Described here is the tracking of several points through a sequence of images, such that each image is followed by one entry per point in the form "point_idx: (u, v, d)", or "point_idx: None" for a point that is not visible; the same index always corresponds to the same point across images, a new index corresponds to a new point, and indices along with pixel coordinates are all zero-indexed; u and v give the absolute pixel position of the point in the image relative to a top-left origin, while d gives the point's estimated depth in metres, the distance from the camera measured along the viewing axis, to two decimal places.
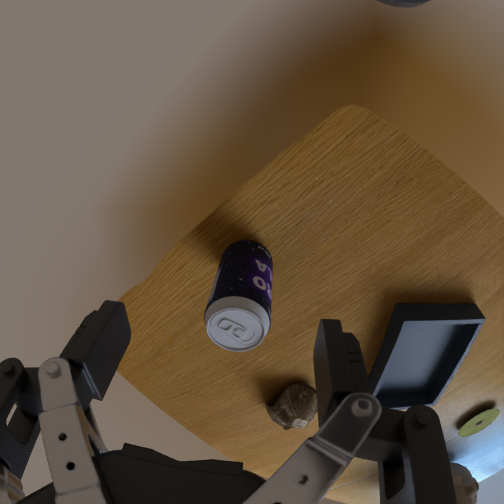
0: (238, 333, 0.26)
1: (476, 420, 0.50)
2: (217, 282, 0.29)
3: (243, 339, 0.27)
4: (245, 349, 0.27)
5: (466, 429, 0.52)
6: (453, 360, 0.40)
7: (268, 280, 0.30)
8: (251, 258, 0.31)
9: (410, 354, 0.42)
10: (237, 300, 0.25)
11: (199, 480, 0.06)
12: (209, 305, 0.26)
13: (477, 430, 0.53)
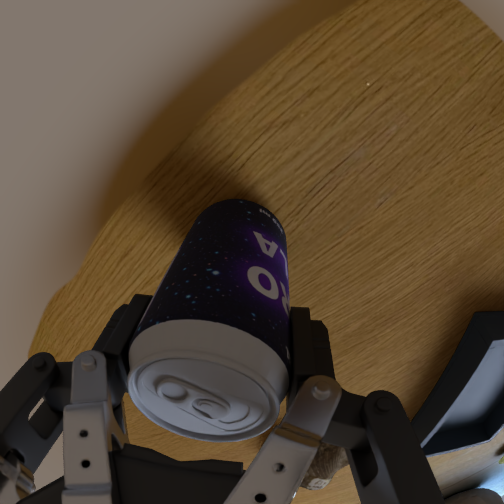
0: (209, 410, 0.09)
1: None
2: (163, 280, 0.12)
3: (223, 420, 0.10)
4: (229, 438, 0.10)
5: None
6: None
7: (282, 276, 0.13)
8: (244, 227, 0.14)
9: (476, 382, 0.25)
10: (201, 333, 0.09)
11: (199, 480, 0.06)
12: (133, 338, 0.10)
13: None
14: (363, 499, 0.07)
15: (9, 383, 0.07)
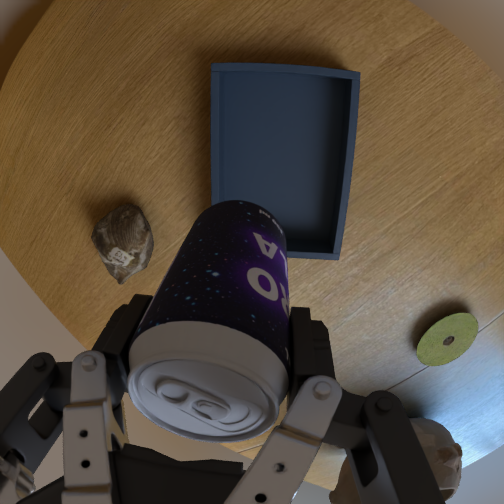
0: (208, 412, 0.09)
1: (441, 333, 0.40)
2: (163, 281, 0.12)
3: (222, 421, 0.10)
4: (229, 439, 0.10)
5: (428, 349, 0.42)
6: (342, 163, 0.30)
7: (282, 277, 0.13)
8: (244, 228, 0.14)
9: (266, 151, 0.32)
10: (201, 335, 0.09)
11: (199, 480, 0.06)
12: (133, 340, 0.10)
13: (449, 357, 0.43)
14: (364, 499, 0.07)
15: (9, 383, 0.07)
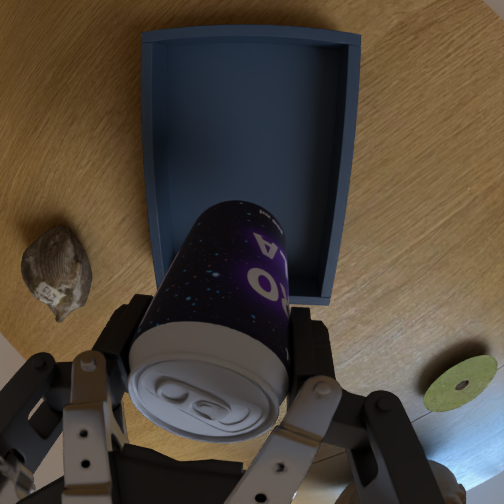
0: (209, 412, 0.09)
1: (455, 378, 0.31)
2: (164, 281, 0.12)
3: (222, 422, 0.10)
4: (229, 439, 0.10)
5: (438, 396, 0.33)
6: (335, 169, 0.21)
7: (282, 277, 0.13)
8: (244, 229, 0.14)
9: (226, 154, 0.22)
10: (201, 335, 0.09)
11: (199, 480, 0.06)
12: (134, 340, 0.10)
13: (460, 401, 0.33)
14: (364, 499, 0.07)
15: (9, 383, 0.07)
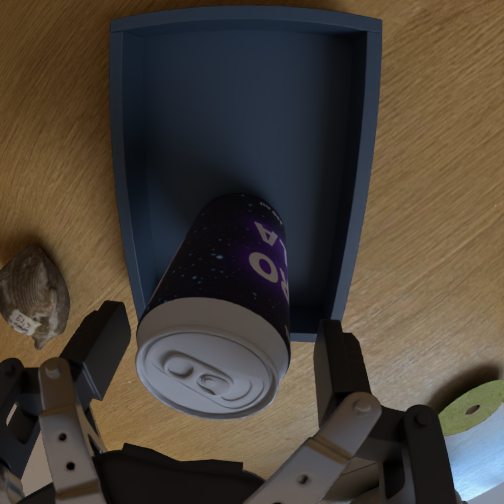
0: (212, 387, 0.10)
1: (466, 404, 0.27)
2: (170, 265, 0.13)
3: (225, 398, 0.11)
4: (231, 416, 0.11)
5: (447, 421, 0.29)
6: (348, 186, 0.17)
7: (282, 263, 0.14)
8: (246, 218, 0.15)
9: (215, 166, 0.19)
10: (207, 309, 0.09)
11: (199, 480, 0.06)
12: (142, 318, 0.10)
13: (469, 424, 0.30)
14: None
15: None
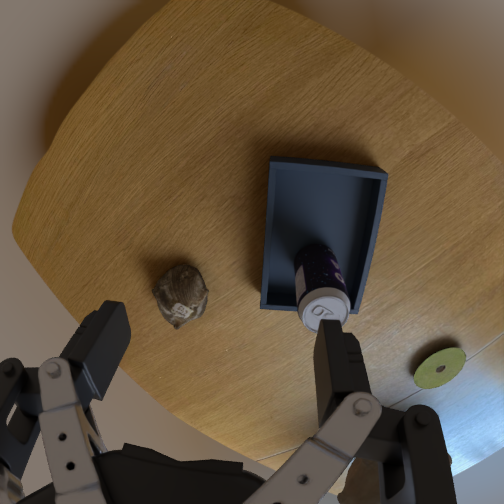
0: (327, 317, 0.32)
1: (435, 363, 0.49)
2: (305, 277, 0.35)
3: None
4: None
5: (424, 376, 0.50)
6: (366, 242, 0.39)
7: (342, 276, 0.36)
8: (327, 258, 0.37)
9: (306, 230, 0.41)
10: (330, 290, 0.31)
11: (199, 480, 0.06)
12: (304, 295, 0.32)
13: (441, 381, 0.51)
14: None
15: None
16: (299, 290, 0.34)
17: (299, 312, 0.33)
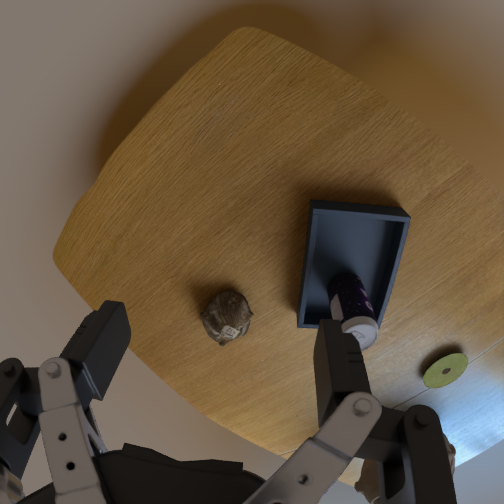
0: (360, 340, 0.38)
1: (441, 366, 0.55)
2: (341, 306, 0.41)
3: (361, 343, 0.39)
4: (361, 350, 0.39)
5: (431, 377, 0.57)
6: (388, 271, 0.45)
7: None
8: (357, 287, 0.43)
9: (339, 261, 0.46)
10: (363, 319, 0.37)
11: (199, 480, 0.06)
12: (343, 323, 0.38)
13: (446, 382, 0.57)
14: None
15: None
16: (337, 317, 0.40)
17: None
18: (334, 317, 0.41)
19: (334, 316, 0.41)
